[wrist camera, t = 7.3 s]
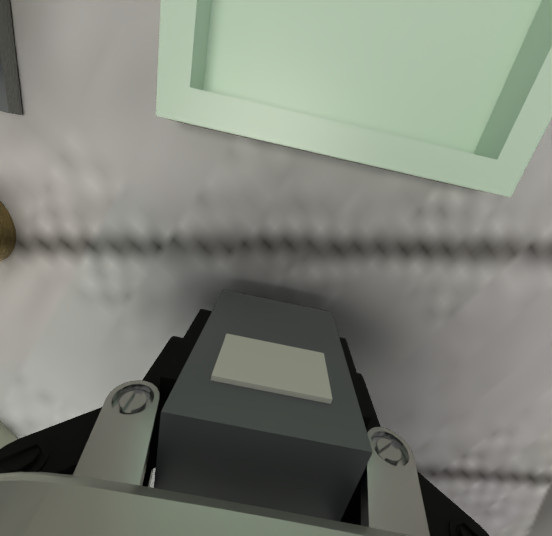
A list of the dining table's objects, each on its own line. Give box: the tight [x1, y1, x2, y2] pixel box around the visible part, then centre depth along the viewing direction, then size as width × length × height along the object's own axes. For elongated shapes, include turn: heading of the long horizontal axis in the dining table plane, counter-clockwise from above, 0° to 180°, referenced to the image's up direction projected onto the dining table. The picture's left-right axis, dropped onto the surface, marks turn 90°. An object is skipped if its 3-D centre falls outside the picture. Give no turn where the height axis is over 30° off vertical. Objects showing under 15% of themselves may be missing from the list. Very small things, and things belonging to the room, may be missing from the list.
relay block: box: [154, 290, 373, 522], centre depth 9 cm, size 5×4×6 cm
